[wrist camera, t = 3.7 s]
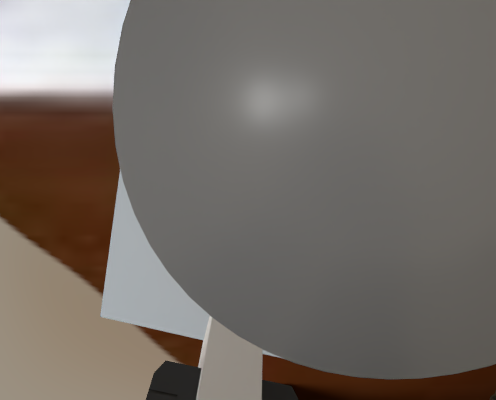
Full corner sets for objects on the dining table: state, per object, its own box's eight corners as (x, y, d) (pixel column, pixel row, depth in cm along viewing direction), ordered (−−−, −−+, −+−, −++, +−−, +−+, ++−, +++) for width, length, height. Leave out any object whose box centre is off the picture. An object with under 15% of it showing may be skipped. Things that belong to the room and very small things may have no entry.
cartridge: (231, 79, 21) (84, 316, 5) (259, -51, 19) (165, -355, 3) (345, 107, 21) (556, 424, 5) (384, -18, 19) (936, -136, 3)
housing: (122, 276, 25) (100, 316, 22) (192, -175, 17) (172, -217, 14) (340, 326, 25) (349, 373, 22) (501, -92, 18) (552, -113, 15)
